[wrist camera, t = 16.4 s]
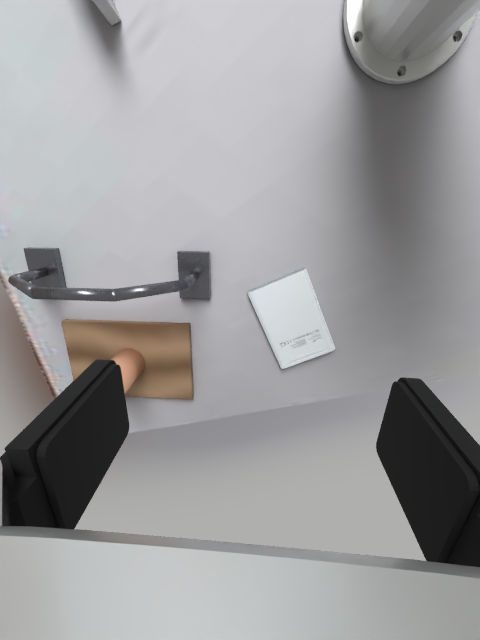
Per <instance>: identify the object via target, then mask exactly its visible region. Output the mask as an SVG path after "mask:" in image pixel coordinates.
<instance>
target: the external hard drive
mask: <svg viewBox="0 0 480 640" xmlns="http://www.w3.org/2000/svg"><path fill="white" fill-rule="evenodd" d="M247 294H248V296H249V298H250V300H251V303H252V305H253V307H254V309H255V312H256V314H257V316H258V318H259V321H260V323H261V325H262V327H263V329H264V332H265V334H266V336H267V338H268V341H269V343H270V345H271V347H272V350H273V352H274V354H275V356H276V358H277V361H278V363H279V365H280V367H281V369H285V368H287V367H290V366H293V365H295V364H298V363H301V362H304V361H307V360H309V359H312V358H315V357H318V356H321V355H323V354H326V353H329V352H332V351H334V350H335V347H334V344H333V341H332V338H331V336H330V333H329V330H328V327H327V325H326V322H325V319H324V316H323V314H322V311H321V308H320V305H319V303H318V300H317V297H316V294H315V292H314V289H313V286H312V284H311V281H310V278H309V275H308V273H307V270H306V268H302V269H300V270H298V271H295V272H293V273H290V274H288V275H286V276H283V277H281V278H278V279H276V280H274V281H271V282H269V283H267V284H264V285H262V286H259V287H257V288H254V289H252V290H250V291H248V292H247Z"/></svg>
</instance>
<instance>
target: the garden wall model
mask: <svg viewBox="0 0 480 640" xmlns="http://www.w3.org/2000/svg"><path fill="white" fill-rule="evenodd" d="M90 1H91V0H90ZM92 1H93V2H94V4H95V5H96V6H97V7H98V9H99V10H100V11H101V13H102V14H103V15H104V16H105V18H106V19H107V20H108V22H109V23H110V24H111V26H113V25H114V24H116V23H118V22H119V21H121V19H120V17H119V14H118V12H117V9H116V7H115V5H114V2H113V0H92Z"/></svg>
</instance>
